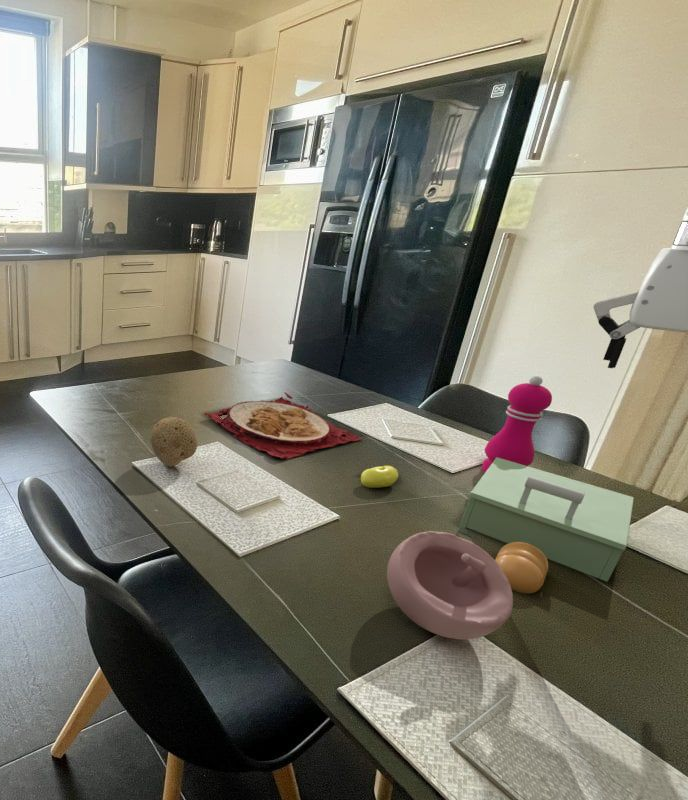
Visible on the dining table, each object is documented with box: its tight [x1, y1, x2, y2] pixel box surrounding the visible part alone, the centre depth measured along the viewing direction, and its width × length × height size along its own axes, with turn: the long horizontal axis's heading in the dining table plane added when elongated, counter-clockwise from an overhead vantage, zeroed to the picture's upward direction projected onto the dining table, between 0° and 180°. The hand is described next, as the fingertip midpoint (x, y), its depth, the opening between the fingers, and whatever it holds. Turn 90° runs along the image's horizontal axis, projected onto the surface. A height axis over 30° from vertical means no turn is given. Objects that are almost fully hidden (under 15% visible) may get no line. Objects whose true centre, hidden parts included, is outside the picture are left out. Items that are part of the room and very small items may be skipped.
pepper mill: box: [481, 375, 553, 473], centre depth 91 cm, size 7×7×20 cm
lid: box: [469, 458, 635, 551], centre depth 73 cm, size 17×17×5 cm
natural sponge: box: [149, 416, 198, 468], centre depth 94 cm, size 9×9×10 cm
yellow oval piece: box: [360, 465, 399, 489], centre depth 89 cm, size 4×8×4 cm, turn 106°
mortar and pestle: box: [386, 530, 514, 640], centre depth 58 cm, size 12×12×12 cm
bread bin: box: [457, 497, 625, 583], centre depth 75 cm, size 17×17×7 cm
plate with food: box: [204, 391, 363, 460], centre depth 112 cm, size 24×26×3 cm
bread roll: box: [494, 542, 549, 595], centre depth 65 cm, size 9×5×5 cm, turn 131°
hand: (663, 373), depth 64 cm, fingers open, 9 cm apart
